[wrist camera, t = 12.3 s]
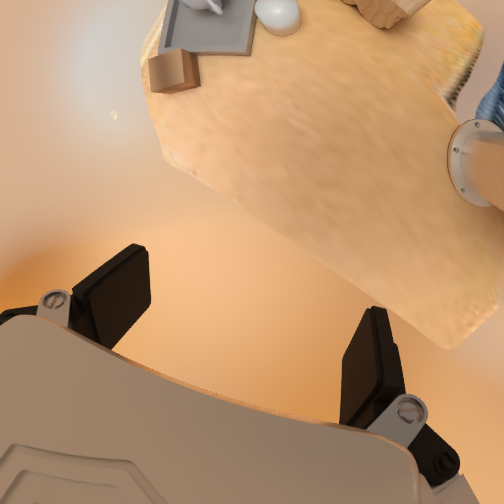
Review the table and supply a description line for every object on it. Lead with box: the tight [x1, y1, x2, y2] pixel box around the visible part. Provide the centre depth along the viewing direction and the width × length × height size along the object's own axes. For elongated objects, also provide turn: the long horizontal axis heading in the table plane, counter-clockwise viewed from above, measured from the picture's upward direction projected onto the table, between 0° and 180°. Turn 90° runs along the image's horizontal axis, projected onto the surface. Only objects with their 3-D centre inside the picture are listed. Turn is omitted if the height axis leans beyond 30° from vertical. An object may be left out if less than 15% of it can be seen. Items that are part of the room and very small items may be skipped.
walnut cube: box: [148, 48, 201, 94], centre depth 31 cm, size 5×5×5 cm
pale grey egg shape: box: [255, 0, 301, 36], centre depth 25 cm, size 5×5×5 cm
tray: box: [157, 0, 257, 56], centre depth 26 cm, size 13×18×2 cm
